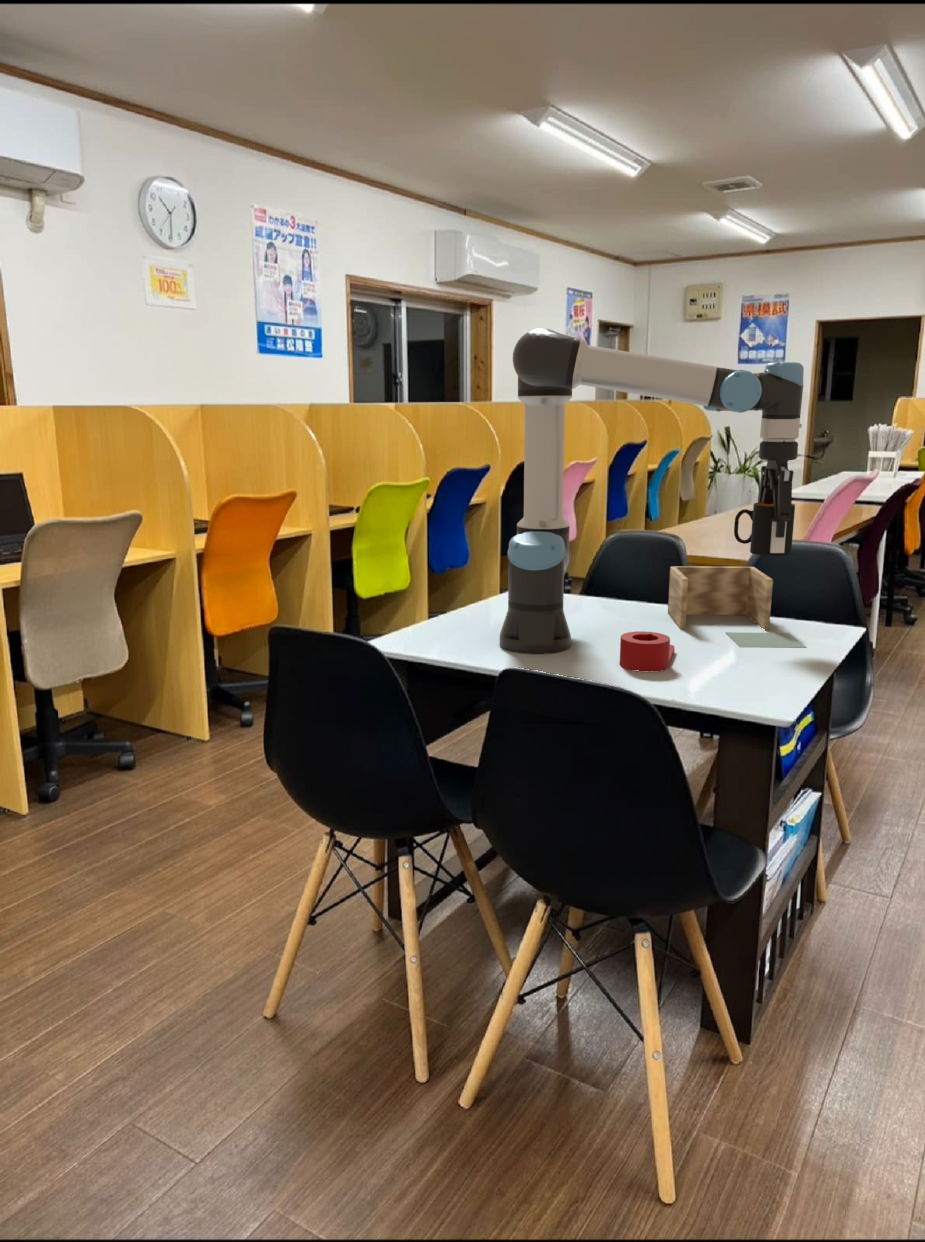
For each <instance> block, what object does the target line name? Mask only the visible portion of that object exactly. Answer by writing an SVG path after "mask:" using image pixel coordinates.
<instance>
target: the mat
mask: <svg viewBox="0 0 925 1242" xmlns="http://www.w3.org/2000/svg"><path fill="white" fill-rule="evenodd" d="M725 635H727V636H728V637H729V639H731V640H732V641H733V642H734V644H736V645H737V646H738V647H739V648H776V649H777V648H779V649H780V648H781V649H782V648H785V649H788V648H793V649H799V648H800V649H807V648H808V647H807V646H806V645H805V644H803V643H802V642H801V641H800V640H799V639H797V638H796V637H795V636H794V635H793V634H791V633H790V632H737V631H736V632H735V631H732V632H725Z"/></svg>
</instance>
